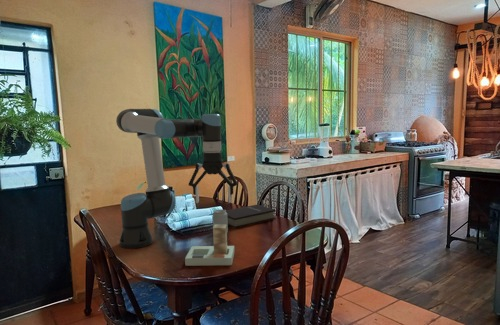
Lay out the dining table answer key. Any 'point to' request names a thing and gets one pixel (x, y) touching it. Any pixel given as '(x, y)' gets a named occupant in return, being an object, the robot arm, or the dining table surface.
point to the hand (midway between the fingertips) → (213, 202)
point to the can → (220, 217)
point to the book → (249, 215)
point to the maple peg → (220, 239)
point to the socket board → (208, 256)
